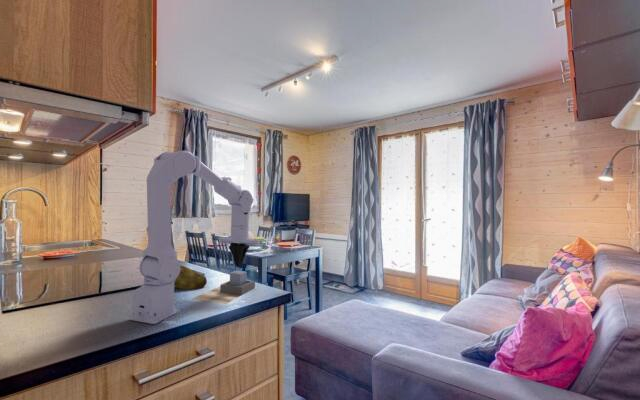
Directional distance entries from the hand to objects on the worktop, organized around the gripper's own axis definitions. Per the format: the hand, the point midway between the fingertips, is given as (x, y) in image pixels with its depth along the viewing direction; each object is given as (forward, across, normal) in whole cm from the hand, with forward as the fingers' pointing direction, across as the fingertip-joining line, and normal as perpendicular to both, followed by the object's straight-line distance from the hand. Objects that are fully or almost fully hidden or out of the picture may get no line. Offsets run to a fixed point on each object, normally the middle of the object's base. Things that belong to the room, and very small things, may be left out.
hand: (238, 266), depth 107 cm
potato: (+9, +18, +4) cm, 20 cm away
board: (+9, +2, +4) cm, 10 cm away
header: (+9, 0, 0) cm, 9 cm away
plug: (+8, 0, 0) cm, 8 cm away
